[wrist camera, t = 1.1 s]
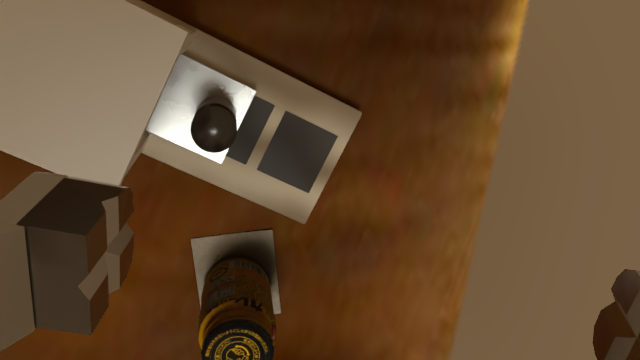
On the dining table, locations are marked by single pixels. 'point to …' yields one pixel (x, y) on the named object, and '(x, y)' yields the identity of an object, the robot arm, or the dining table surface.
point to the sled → (200, 109)
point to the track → (266, 132)
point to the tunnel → (82, 82)
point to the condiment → (237, 295)
